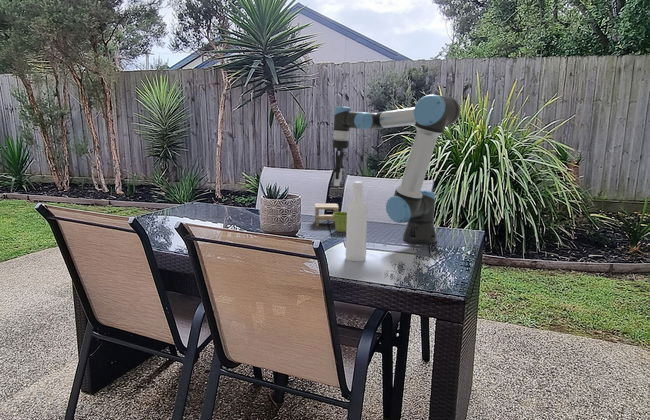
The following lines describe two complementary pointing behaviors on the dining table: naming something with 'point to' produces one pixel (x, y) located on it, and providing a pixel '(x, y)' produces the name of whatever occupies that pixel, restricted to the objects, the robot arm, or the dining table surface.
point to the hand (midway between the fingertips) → (337, 183)
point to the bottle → (356, 226)
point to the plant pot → (340, 221)
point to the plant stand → (324, 206)
